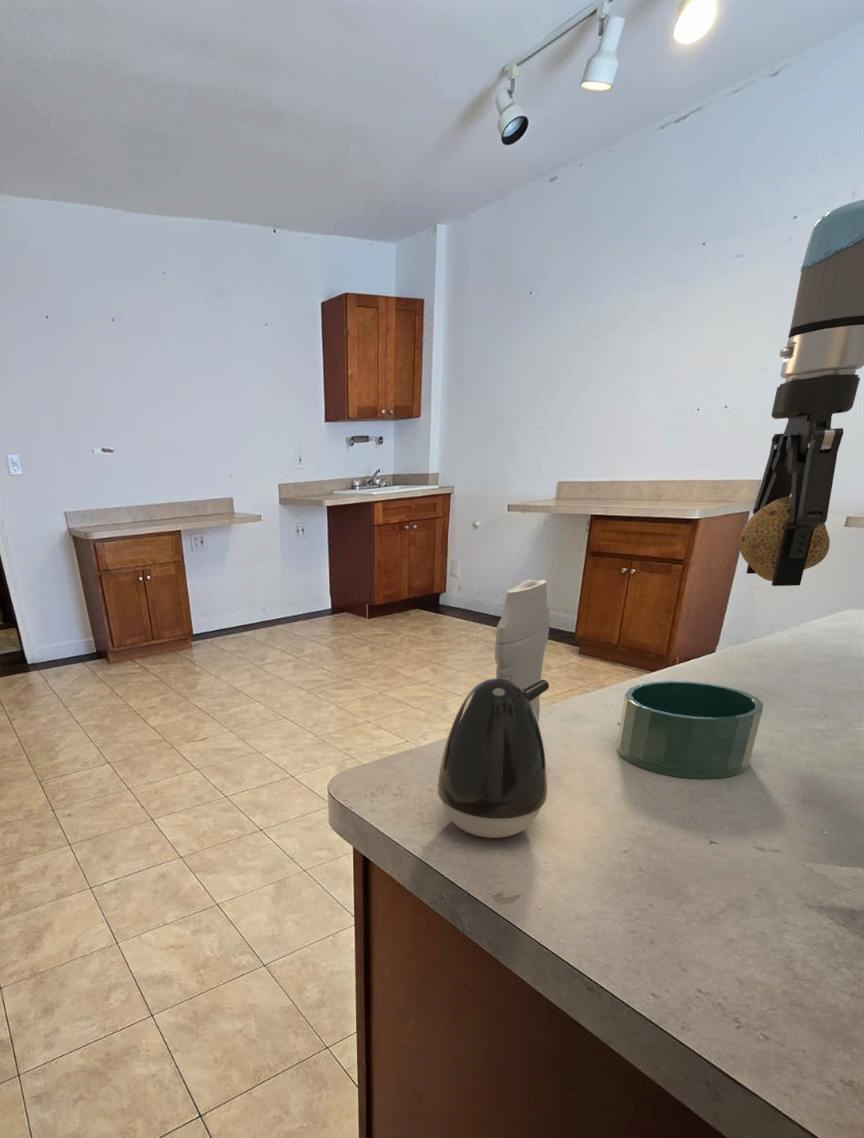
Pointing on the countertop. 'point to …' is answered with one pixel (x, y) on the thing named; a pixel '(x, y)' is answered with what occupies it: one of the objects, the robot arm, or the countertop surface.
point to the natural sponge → (776, 539)
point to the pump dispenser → (494, 761)
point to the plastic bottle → (523, 636)
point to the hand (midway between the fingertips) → (771, 578)
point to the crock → (689, 729)
